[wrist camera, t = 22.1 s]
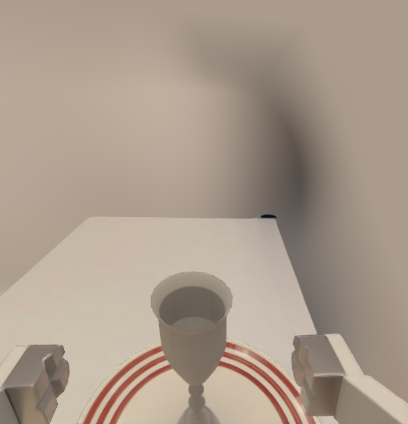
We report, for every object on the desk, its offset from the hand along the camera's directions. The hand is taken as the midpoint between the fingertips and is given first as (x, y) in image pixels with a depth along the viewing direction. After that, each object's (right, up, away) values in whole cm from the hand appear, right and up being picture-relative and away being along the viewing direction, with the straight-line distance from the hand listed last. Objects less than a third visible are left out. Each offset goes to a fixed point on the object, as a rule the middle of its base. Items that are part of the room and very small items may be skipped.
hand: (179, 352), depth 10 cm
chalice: (0, -19, +21) cm, 28 cm away
